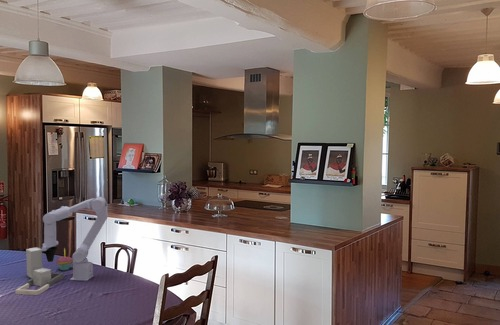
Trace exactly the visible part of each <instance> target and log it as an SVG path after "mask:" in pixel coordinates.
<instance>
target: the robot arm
mask: <svg viewBox="0 0 500 325" xmlns="http://www.w3.org/2000/svg"><path fill="white" fill-rule="evenodd" d="M84 209H88V210H90V209H92V210H93V211H94V212H95V215H96V219H95V221H94V222H93V224H92V226H91V227H90V229H89V231H88V232H87V234H86V236H85V237H84V239H83V241H82V243H81V244H80V246H79V247H78V248H76V250H75V252H73V254H72V255H71V258H72V259H73V262H72V277H71V278H70V279H69V280H70V281H87V282H88V281H89V280H91V279H92V278H93V277H94V265H93V262H92V261H89V260H88V258H87V257H88V255H89V250H90V249H91V246H92V245H93V243H94V241H95V240H96V238H97V236H98V234H99V233H100V231H101V229H102V228H103V226H104V224H105V223H106V221H107V219H108V217H109V215H108V203H107V200H106V198H105V197H104V196H97V197H93V198H89V199H86V200H83V201H81V202H79V203H77V204H74V205H72V206H66V205H65V206H64V205H62V206H60V208H58V209H52V210H51V211H49V212H48V213H46V214H44V215H43V217H42V222H43V223H44V227H43V235H44V236H43V243H42V244H41V245H42V247H41V249H42V252H43V253H44V254H45V255H46V256H45V257H46V259H47V262H48V263H51V262H53V261H54V259H55V258H54V257H55V255H56V251H57V250H58V245H59V241H58V240H57V222H59V221H61V220H64V219H66V218H69V217H71V215H72V213H75V212H78V211H81V210H84Z"/></svg>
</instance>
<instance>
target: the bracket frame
mask: <svg viewBox="0 0 500 325" xmlns="http://www.w3.org/2000/svg"><path fill="white" fill-rule="evenodd" d="M29 288H30V286H29V283H27V282H26V284H23V285H22V286H20V287H18V288H17V289H15V290H14V292H15V293H14V295H21V294H22V296H23V295H24V296H27V295H28V296H40V295H41V294H42V293H44V292H46V291H47V290H49V289H50V287H49V284H46V285H45V286H42V287H40V288H38V289H29Z"/></svg>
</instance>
